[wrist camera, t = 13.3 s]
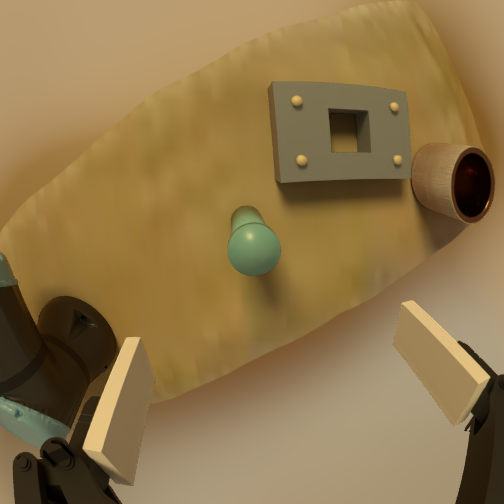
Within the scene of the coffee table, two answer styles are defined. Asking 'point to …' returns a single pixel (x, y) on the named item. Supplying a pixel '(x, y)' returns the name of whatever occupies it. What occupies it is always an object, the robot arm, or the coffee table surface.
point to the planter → (454, 181)
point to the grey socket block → (318, 132)
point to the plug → (252, 243)
